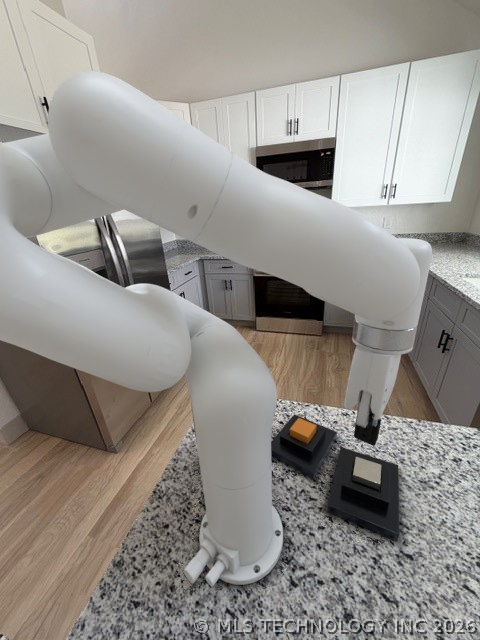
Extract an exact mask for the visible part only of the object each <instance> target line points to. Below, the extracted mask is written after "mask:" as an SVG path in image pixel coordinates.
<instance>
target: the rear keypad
mask: <svg viewBox="0 0 480 640" xmlns="http://www.w3.org/2000/svg"><path fill="white" fill-rule="evenodd" d="M298 418H300V419H303V420H305V421H307V422H310V423H312V424H315V425H317V426H316V433H315V435H314V436H313V438H312V439H311V441H310V442H309V444H306V443H304V442H302V441H300V440H298V439H296V438H294V437H291V436H290V428H291V427H292V426H293V424H294V423H295V422H296V421H297V419H298ZM337 436H338V431H336V430H333V429H331V428H328V427H326V426H324V425H321V424H319V423H317V422H314V421H311V420H309V419H307V418H305V417H303V416H300V415H297V414H296V413H294V414H293V415H292V417H291V418H290V419H289V420H288V421H287V423H286V424H285V425H284V426H283V427H282V428H281V430H280V431H279V432H278V433H277V434H276V436H274V438H273V439H272V440H271V458H274V459H276V460H278V461H280V462H281V463H282V464H284V465H287V466H288V467H290V468H291V469H294V470H296V471H297V472H299V473H301V474H303V475H305V476H307V477H309V478H311V480H314V479H315V477H316V475H317V474H318V472H319V470H320V468H321V466H322V465H323V463H324V462H325V460H326V457H327V456H328V454H329V452H331V451H330V450H331V449H332V448H333V445H334V443H335V442H336V440H337V438H338V437H337Z"/></svg>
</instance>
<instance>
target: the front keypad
mask: <svg viewBox="0 0 480 640" xmlns="http://www.w3.org/2000/svg"><path fill="white" fill-rule="evenodd" d="M356 457H359V458H362V459H365V460H368V461H371V462H374V463H377V464H380V465H381V480H380V489H379V492H377V491H375V490H372V489H369V488H366V487H364V486H361V485H358V484H355V483H353V482H352V479H353V472H354V466H355V459H356ZM335 467H336V468H335V471H334V474H333V479H332V484H331V488H330V492H329V497H328V502H327V507H326V512H327V513H328V514H331V515H333V516H335V517H338V518H340V519H343V520H345V521H346V522H347V521H348V522H350V523H352V524H354V525H357V526H359V527H361V528H364V529H366V530H368V531H371V532H373V533H375V534H378V535H380V536H381V537H384V538H387V539H390V540H392V541H394V542H396V543H398V542H399V539H400V486H399V483H400V482H399V481H400V479H399V474H400V473H399V464H396V463H394V462H390V461H388V460H387V461H386V460H384V459H380V458H377V457H374V456H371V455H368V454H364V453H361V452H358V451H356V450H352V449H349V448H346V447H342V446H340V448H339V452H338V458H337V461H336V466H335Z"/></svg>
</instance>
